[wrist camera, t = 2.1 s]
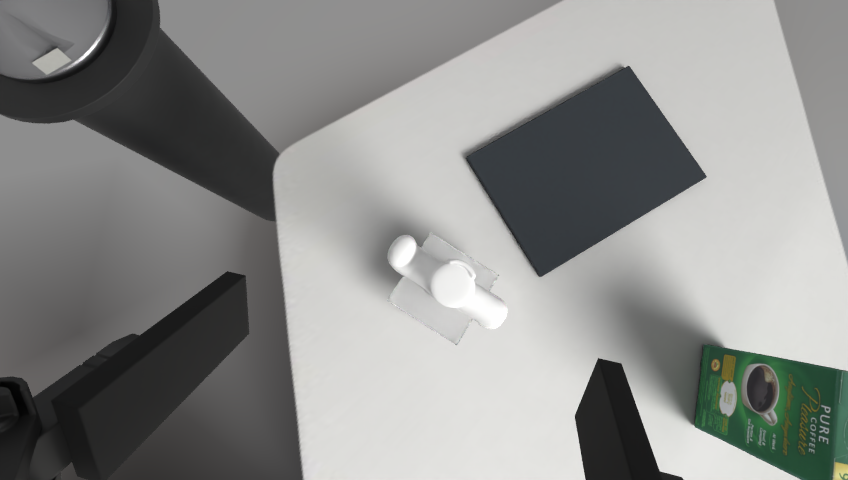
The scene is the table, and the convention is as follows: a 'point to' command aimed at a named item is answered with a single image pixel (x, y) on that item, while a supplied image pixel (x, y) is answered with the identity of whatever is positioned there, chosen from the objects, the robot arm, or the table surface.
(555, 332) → the table surface
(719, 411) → the coffee box
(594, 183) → the mat
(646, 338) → the table surface
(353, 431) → the table surface
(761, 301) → the table surface
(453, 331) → the figurine
